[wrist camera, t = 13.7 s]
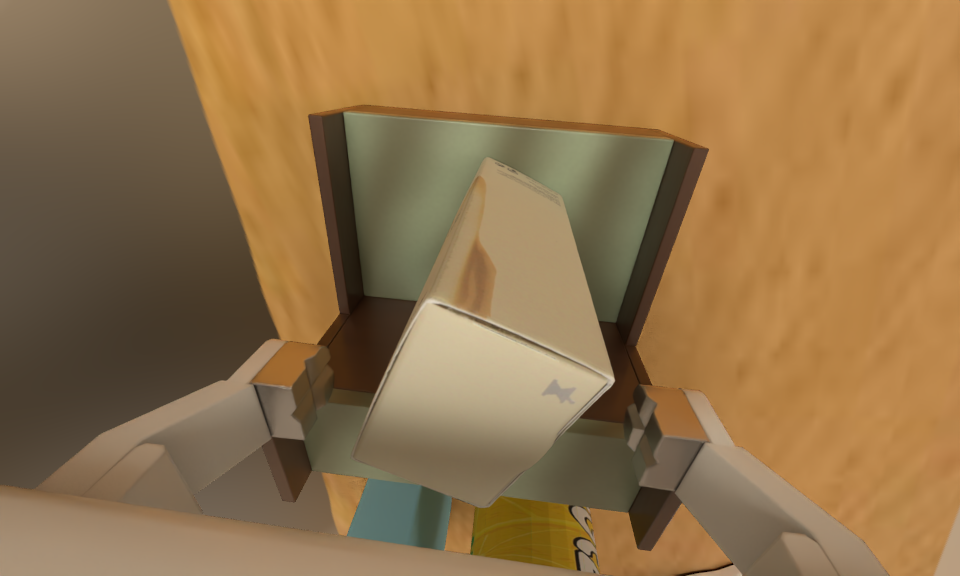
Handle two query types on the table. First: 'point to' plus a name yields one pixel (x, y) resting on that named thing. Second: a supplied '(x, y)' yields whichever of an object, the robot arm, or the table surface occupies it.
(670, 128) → the table surface
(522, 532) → the beverage can
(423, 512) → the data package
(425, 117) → the step shelf
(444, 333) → the cosmetic box
